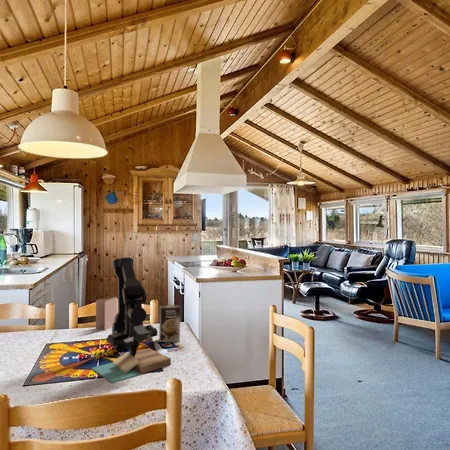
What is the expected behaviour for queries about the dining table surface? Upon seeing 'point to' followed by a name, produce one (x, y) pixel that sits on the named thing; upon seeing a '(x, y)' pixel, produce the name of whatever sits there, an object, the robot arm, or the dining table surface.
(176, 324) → the coffee box
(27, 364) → the dining table surface
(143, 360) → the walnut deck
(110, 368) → the teal mat
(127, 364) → the birch tile
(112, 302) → the greeting card
